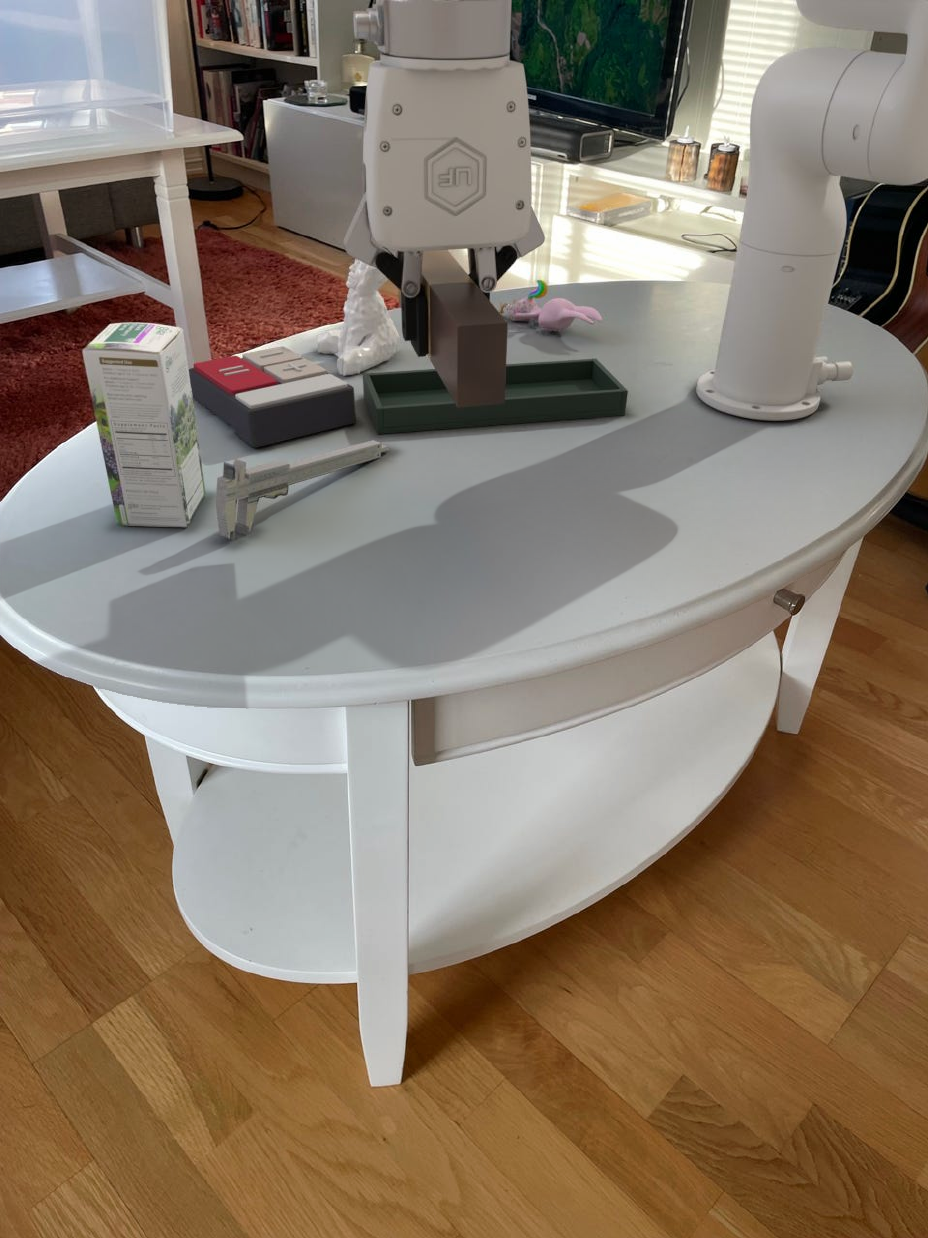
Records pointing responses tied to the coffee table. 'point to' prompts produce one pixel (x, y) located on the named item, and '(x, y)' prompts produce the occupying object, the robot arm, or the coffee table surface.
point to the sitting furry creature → (362, 324)
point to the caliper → (277, 482)
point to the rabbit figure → (548, 310)
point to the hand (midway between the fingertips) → (445, 345)
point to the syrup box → (146, 423)
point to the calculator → (272, 395)
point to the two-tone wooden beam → (463, 333)
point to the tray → (528, 398)
